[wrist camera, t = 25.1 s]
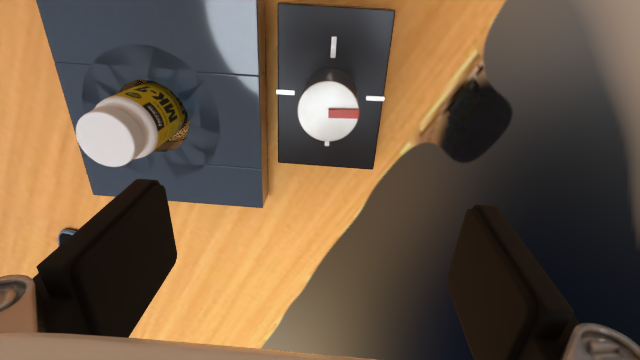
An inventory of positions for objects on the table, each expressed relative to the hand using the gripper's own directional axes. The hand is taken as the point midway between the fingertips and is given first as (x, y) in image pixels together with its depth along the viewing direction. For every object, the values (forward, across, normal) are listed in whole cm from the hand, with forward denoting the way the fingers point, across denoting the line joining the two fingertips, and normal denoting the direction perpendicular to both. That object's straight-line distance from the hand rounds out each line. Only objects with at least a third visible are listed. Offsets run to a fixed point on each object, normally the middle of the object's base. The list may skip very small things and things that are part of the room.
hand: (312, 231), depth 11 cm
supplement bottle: (+20, +15, +3) cm, 25 cm away
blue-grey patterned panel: (+20, +14, +2) cm, 24 cm away
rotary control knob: (+17, 0, 0) cm, 17 cm away
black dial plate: (+20, 0, 0) cm, 20 cm away
